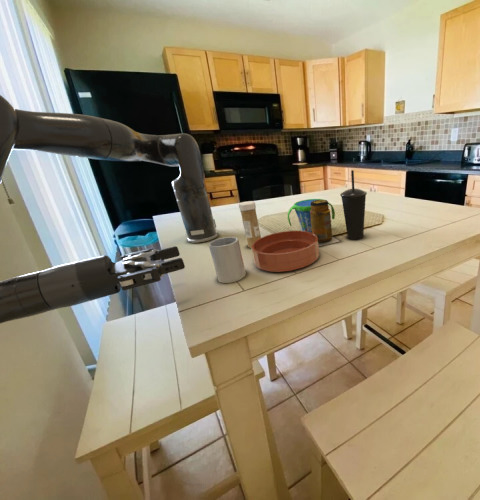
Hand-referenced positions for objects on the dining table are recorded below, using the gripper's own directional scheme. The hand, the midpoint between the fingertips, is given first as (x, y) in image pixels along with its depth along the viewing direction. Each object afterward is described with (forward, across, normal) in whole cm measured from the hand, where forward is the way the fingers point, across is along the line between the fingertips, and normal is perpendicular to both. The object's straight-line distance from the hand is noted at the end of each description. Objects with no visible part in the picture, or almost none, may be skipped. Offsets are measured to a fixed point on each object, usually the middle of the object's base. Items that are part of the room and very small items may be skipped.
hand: (181, 256), depth 57 cm
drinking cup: (+47, 0, +8) cm, 47 cm away
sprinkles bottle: (+20, +16, +8) cm, 27 cm away
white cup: (+9, 0, +8) cm, 12 cm away
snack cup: (+40, +14, +8) cm, 43 cm away
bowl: (+24, 0, +8) cm, 25 cm away
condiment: (+38, +5, +8) cm, 39 cm away
